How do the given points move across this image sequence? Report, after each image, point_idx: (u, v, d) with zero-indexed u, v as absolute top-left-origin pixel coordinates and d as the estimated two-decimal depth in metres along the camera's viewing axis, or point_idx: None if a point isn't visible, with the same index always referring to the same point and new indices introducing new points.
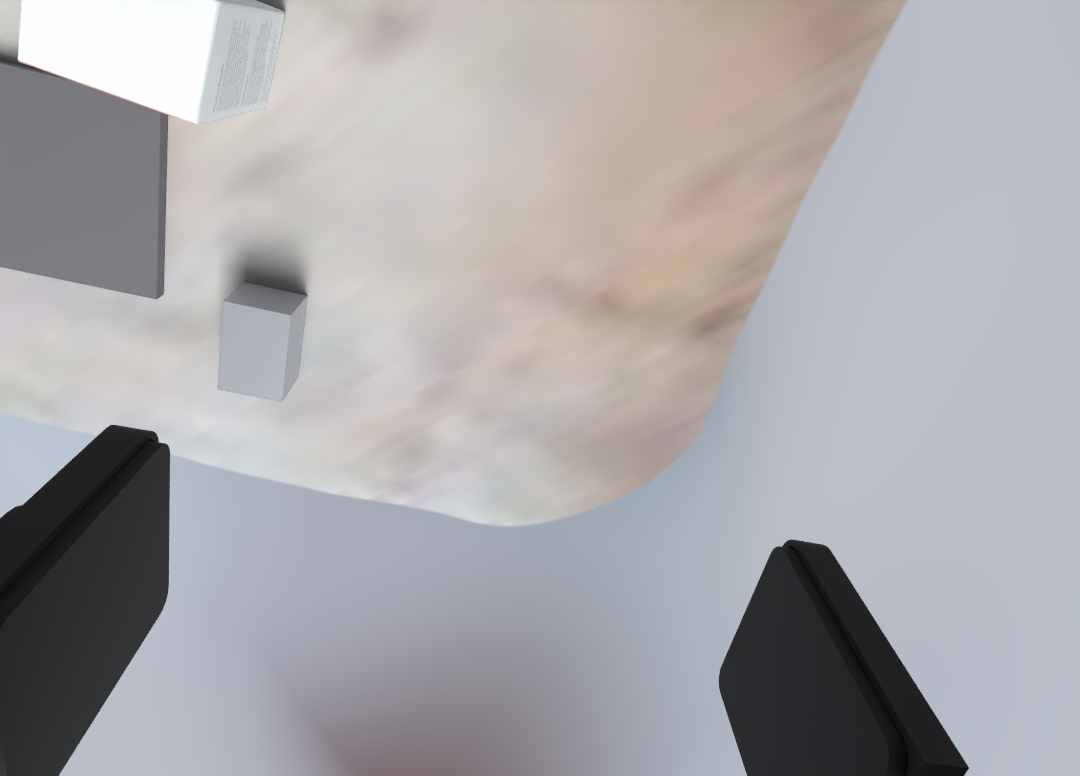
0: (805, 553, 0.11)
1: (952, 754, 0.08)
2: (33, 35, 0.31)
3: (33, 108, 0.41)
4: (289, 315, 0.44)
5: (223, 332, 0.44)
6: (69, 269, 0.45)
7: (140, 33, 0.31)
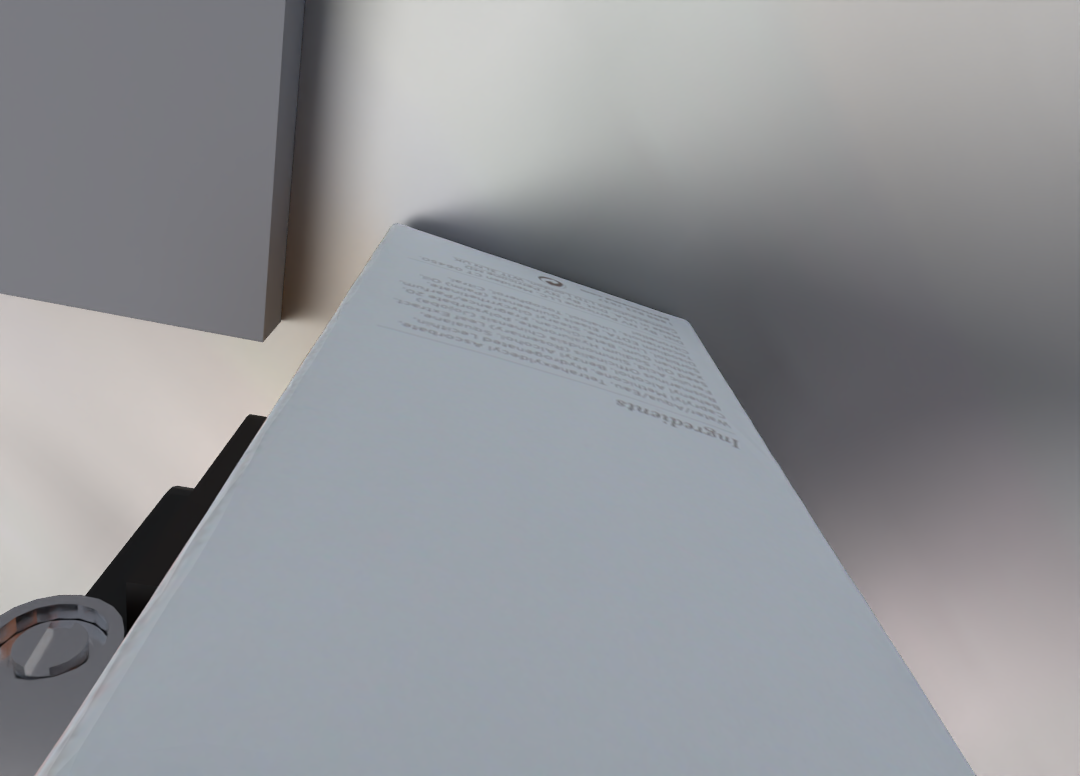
0: None
1: None
2: None
3: None
4: None
5: None
6: None
7: None
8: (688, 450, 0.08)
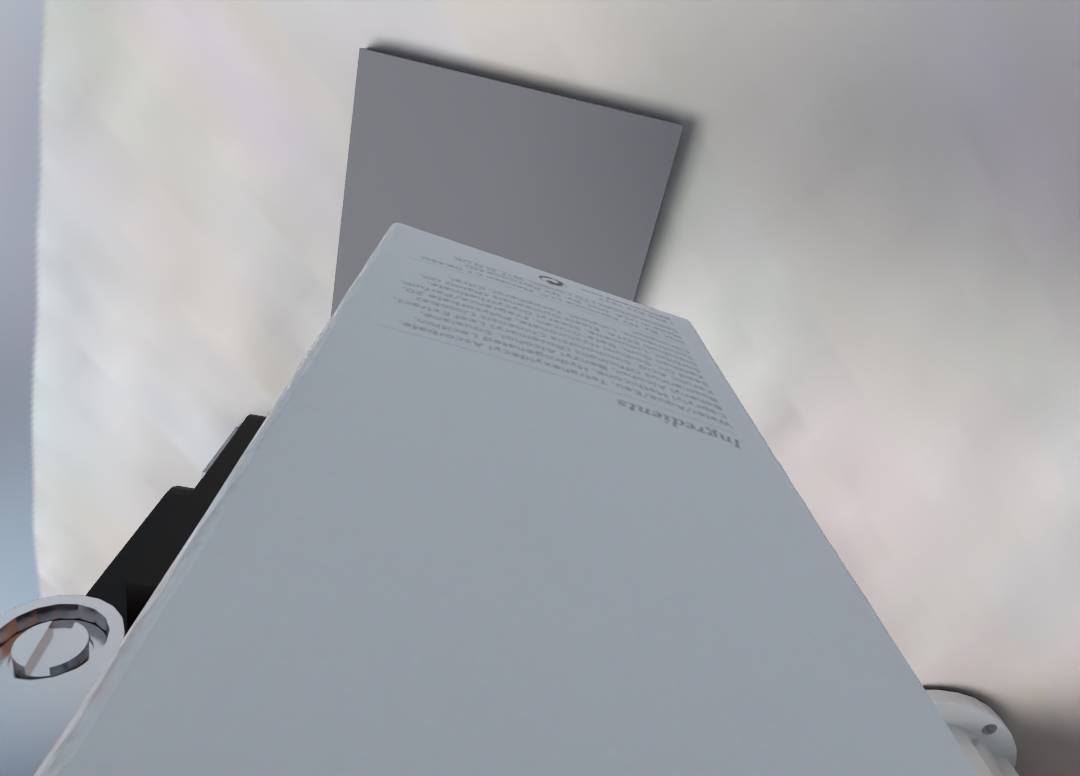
0: None
1: None
2: None
3: (597, 247, 0.29)
4: None
5: None
6: (359, 239, 0.28)
7: None
8: (691, 450, 0.08)
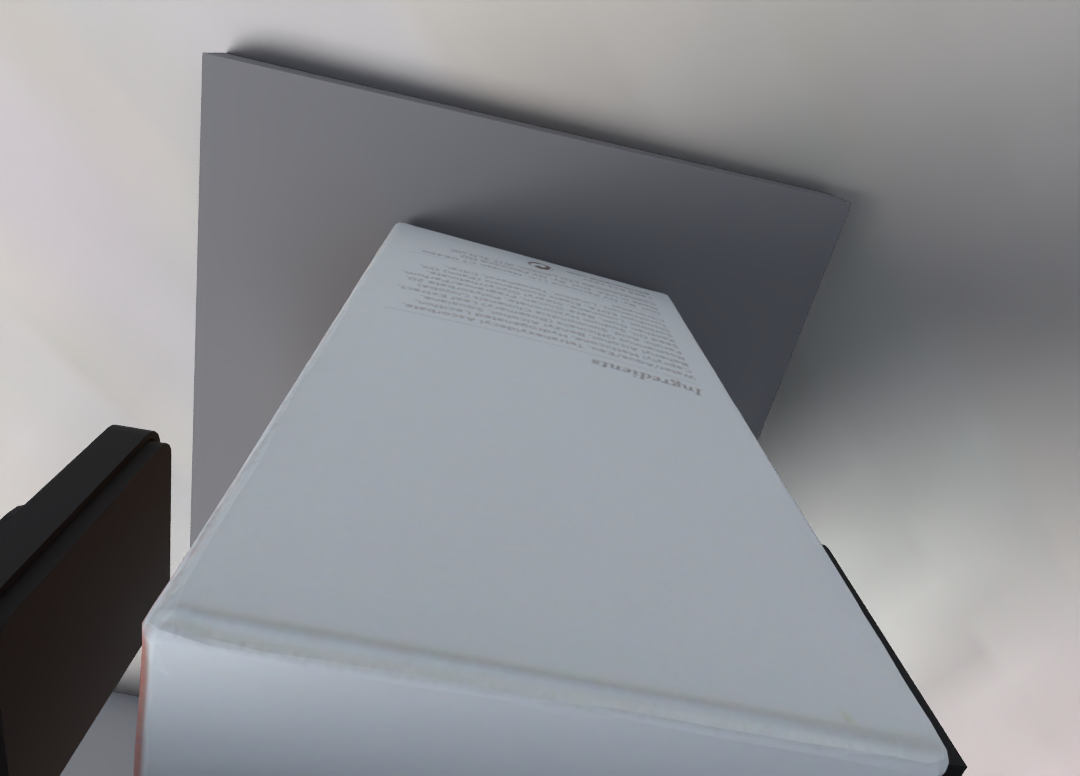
0: None
1: (950, 753, 0.08)
2: (343, 738, 0.05)
3: None
4: None
5: None
6: (232, 408, 0.15)
7: None
8: (654, 396, 0.09)
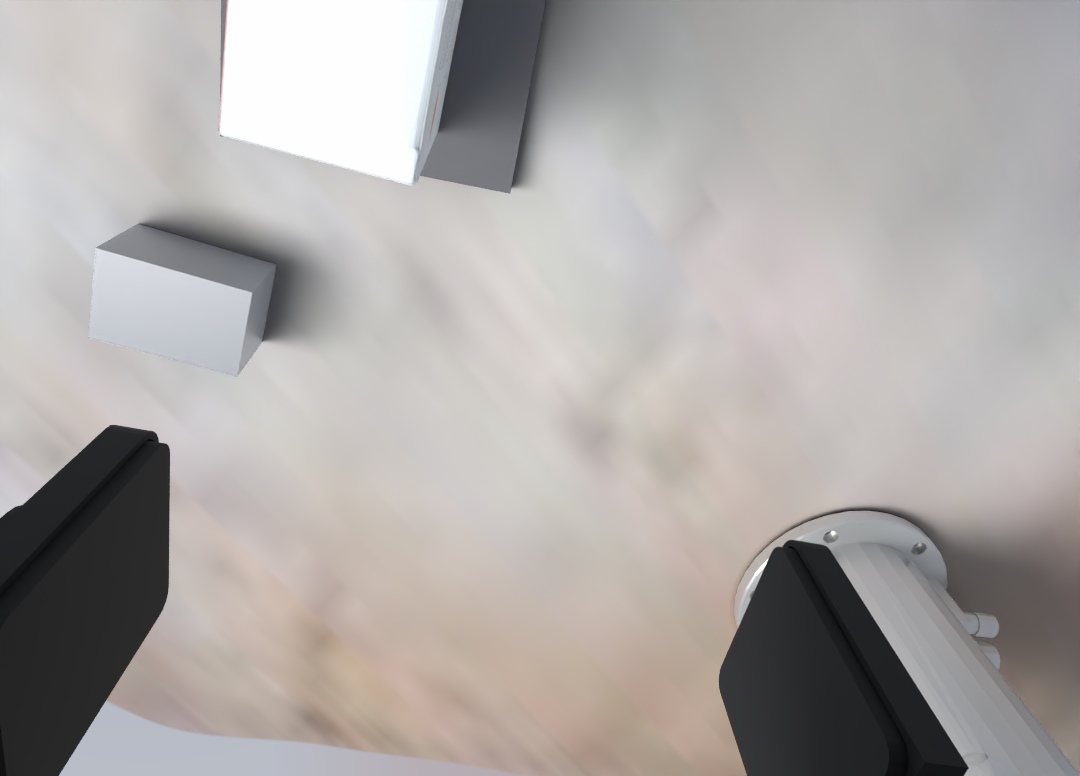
0: (805, 553, 0.11)
1: (952, 754, 0.08)
2: None
3: (492, 5, 0.28)
4: (236, 374, 0.31)
5: (199, 281, 0.29)
6: None
7: (341, 55, 0.19)
8: None
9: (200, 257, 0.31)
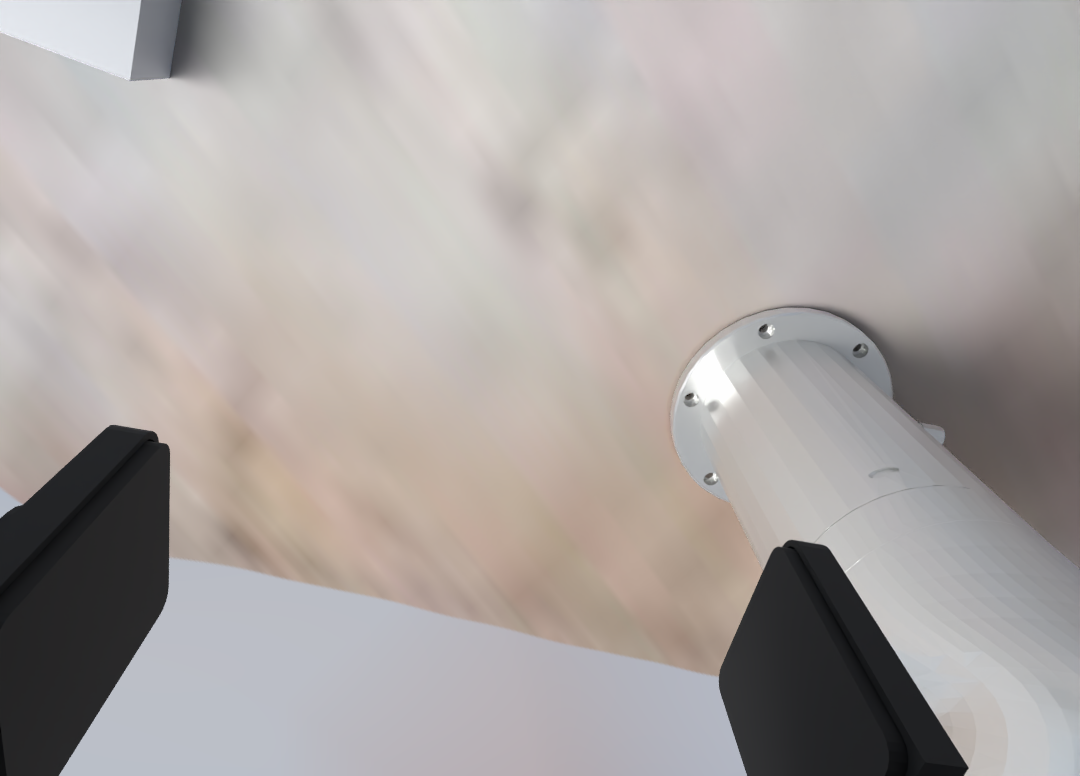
0: (805, 553, 0.11)
1: (952, 753, 0.08)
2: None
3: None
4: (129, 78, 0.30)
5: None
6: None
7: None
8: None
9: None
